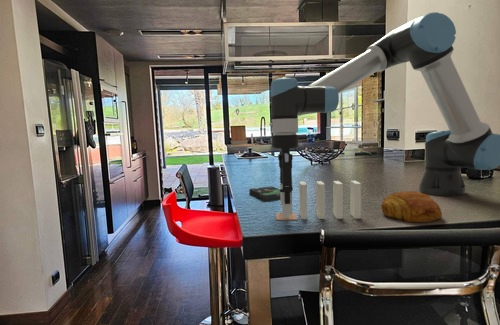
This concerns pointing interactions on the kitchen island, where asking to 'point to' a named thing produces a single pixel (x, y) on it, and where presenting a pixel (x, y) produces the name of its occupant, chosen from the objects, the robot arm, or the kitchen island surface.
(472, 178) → the kitchen island surface
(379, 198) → the kitchen island surface
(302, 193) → the domino
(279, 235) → the kitchen island surface
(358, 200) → the domino
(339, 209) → the domino
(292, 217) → the plate
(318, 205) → the domino
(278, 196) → the disk drive
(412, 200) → the croissant
